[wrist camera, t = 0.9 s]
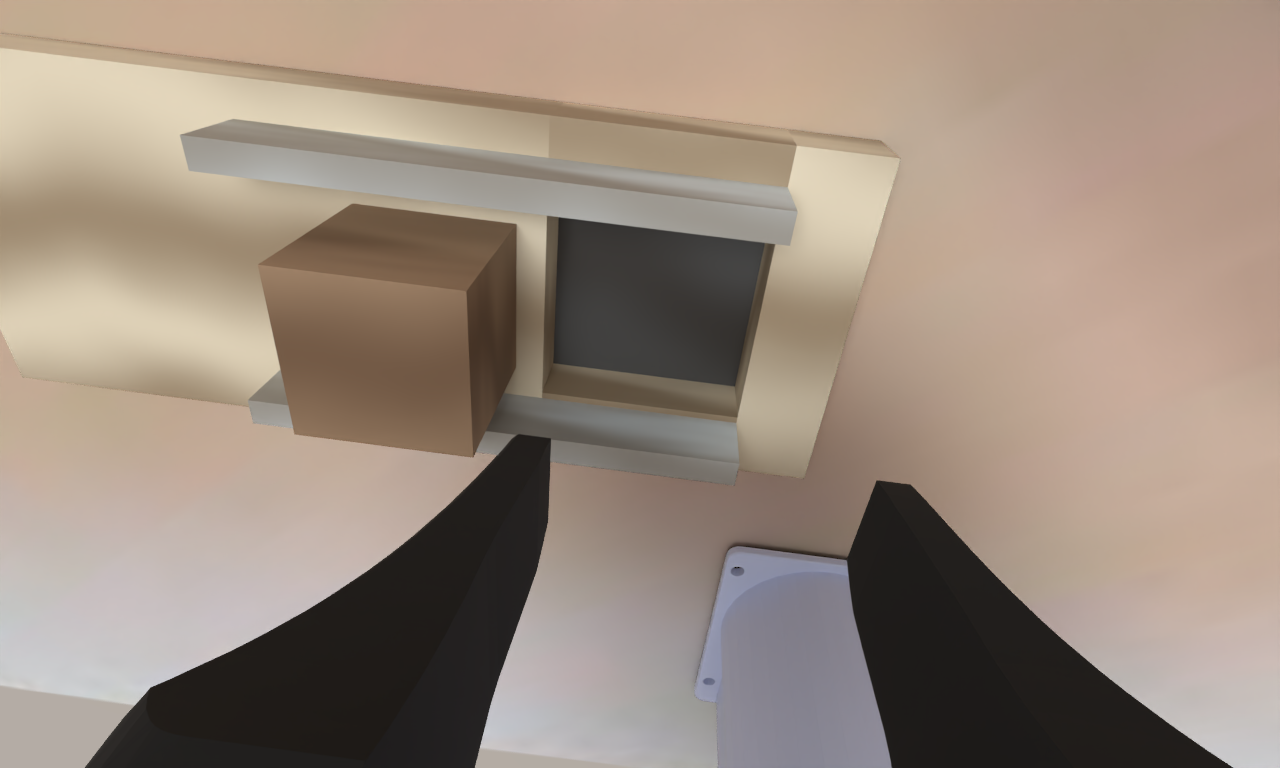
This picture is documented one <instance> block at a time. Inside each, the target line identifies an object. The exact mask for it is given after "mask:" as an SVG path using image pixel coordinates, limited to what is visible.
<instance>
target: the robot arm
mask: <svg viewBox="0 0 1280 768" xmlns="http://www.w3.org/2000/svg"><path fill="white" fill-rule="evenodd" d="M550 454H551V438H546V437H538V436H530V435H522V434H518V435H516V436H515V437H513V438H512V439H511V440H510V441H509V443H508V444H507V445H506V446H505V447H504V448H503V449H502V451H501V452H500V453H499V454H498V455H497V456H496V457H495V458H494V460H493V461H492V462H491V463H490V464H489V465H488V466H487V467H486V468H485V469H484V470H483V471H482V472H481V473H480V474H479V475H478V477H477V478H476V479H475V480H474V481H473V482H472V483H471V484H470V485H468V486H467V487H466V488H465V489H464V490H463V491H462V492H461V493H460V494H459V495H458V496H457V497H456V498H455V499H454V500H453V501H452V502H451V503H450V504H449V505H448V506H447V507H446V508H445V509H444V510H442V511H441V512H440V513H439V514H438V515H437V516H436V517H434V518H433V519H432V520H431V521H430V522H429V523H428V524H426V525H425V526H424V527H423V528H422V529H421V530H420V531H418V532H417V533H416V534H415V535H414V536H413V537H411V538H410V539H409V540H408V541H406V542H405V543H404V544H403V545H401V546H400V547H399V548H398V549H396V550H395V551H394V552H392V553H391V554H390V555H389V556H387V557H386V558H384V559H383V560H382V561H380V562H379V563H378V564H376V565H375V566H374V567H372V568H371V569H370V570H368V571H367V572H365V573H364V574H362V575H361V576H359V577H358V578H356V579H355V580H353V581H352V582H350V583H349V584H347V585H346V586H344V587H343V588H341V589H340V590H338V591H337V592H335V593H334V594H332V595H331V596H329V597H328V598H326V599H324V600H323V601H321V602H320V603H318V604H316V605H315V606H313V607H312V608H310V609H308V610H307V611H305V612H303V613H301V614H299V615H298V616H296V617H294V618H292V619H290V620H289V621H287V622H285V623H283V624H282V625H280V626H278V627H276V628H274V629H273V630H271V631H269V632H267V633H265V634H263V635H261V636H260V637H258V638H256V639H254V640H252V641H250V642H248V643H246V644H244V645H242V646H240V647H238V648H236V649H234V650H232V651H230V652H228V653H226V654H224V655H222V656H219V657H217V658H215V659H213V660H211V661H209V662H206V663H204V664H202V665H200V666H198V667H196V668H193V669H191V670H189V671H187V672H185V673H183V674H180V675H178V676H176V677H174V678H172V679H170V680H167V681H165V682H163V683H160V684H158V685H156V686H153V687H151V688H150V689H149V690H148V691H147V693H146V694H145V695H144V696H143V697H142V698H141V699H140V700H139V702H138V703H137V704H136V705H135V706H134V707H133V708H132V709H131V710H130V711H129V713H128V714H127V715H126V716H125V717H124V718H123V719H122V721H121V722H120V723H119V724H118V726H117V727H116V728H115V729H114V731H113V732H112V733H111V735H110V736H109V737H108V738H107V740H106V741H105V742H104V744H103V745H102V746H101V747H100V749H99V750H98V751H97V753H96V754H95V755H94V756H93V758H92V759H91V760H90V762H89V763H88V764H87V765H86V767H85V768H475V764H476V760H477V756H478V752H479V748H480V744H481V740H482V736H483V732H484V728H485V724H486V720H487V716H488V712H489V709H490V705H491V701H492V698H493V695H494V692H495V688H496V685H497V682H498V679H499V676H500V673H501V670H502V667H503V665H504V662H505V659H506V656H507V653H508V650H509V648H510V645H511V642H512V639H513V636H514V634H515V631H516V628H517V625H518V622H519V620H520V617H521V614H522V611H523V608H524V605H525V603H526V600H527V597H528V594H529V591H530V588H531V585H532V583H533V580H534V577H535V574H536V571H537V567H538V563H539V559H540V554H541V550H542V546H543V541H544V537H545V532H546V528H547V523H548V508H549V481H550ZM734 567H741V568H734ZM695 696H696V697H697V698H698V699H700V700H702V701H708V702H716V703H717V750H718V768H1233V767H1231V766H1230V765H1228V764H1227V763H1225V762H1224V761H1222V760H1221V759H1219V758H1218V757H1216V756H1215V755H1213V754H1212V753H1210V752H1209V751H1207V750H1206V749H1204V748H1203V747H1201V746H1200V745H1198V744H1197V743H1196V742H1194V741H1193V740H1191V739H1190V738H1188V737H1187V736H1186V735H1184V734H1183V733H1181V732H1180V731H1178V730H1177V729H1175V728H1174V727H1173V726H1171V725H1170V724H1169V723H1167V722H1166V721H1164V720H1163V719H1162V718H1160V717H1159V716H1158V715H1156V714H1155V713H1154V712H1152V711H1151V710H1150V709H1148V708H1147V707H1146V706H1144V705H1143V704H1142V703H1140V702H1139V701H1138V700H1136V699H1135V698H1134V697H1132V696H1131V695H1130V694H1128V693H1127V692H1126V691H1124V690H1123V689H1122V688H1121V687H1119V686H1118V685H1117V684H1115V683H1114V682H1113V681H1112V680H1110V679H1109V678H1108V677H1107V676H1105V675H1104V674H1103V673H1102V672H1100V671H1099V670H1098V669H1097V668H1096V667H1094V666H1093V665H1092V664H1091V663H1090V662H1088V661H1087V660H1086V659H1085V658H1084V657H1083V656H1081V655H1080V654H1079V653H1078V652H1077V651H1075V650H1074V649H1073V648H1072V647H1071V646H1069V645H1068V644H1067V643H1066V642H1065V641H1064V640H1062V639H1061V638H1060V637H1059V636H1058V635H1057V634H1056V633H1055V632H1053V631H1052V630H1051V629H1050V628H1049V627H1048V626H1047V625H1046V624H1045V623H1043V622H1042V621H1041V620H1040V619H1039V618H1038V617H1037V616H1036V615H1035V614H1034V613H1033V612H1032V611H1031V610H1030V609H1029V608H1028V607H1027V606H1026V605H1025V604H1024V603H1023V602H1021V601H1020V600H1019V599H1018V598H1017V597H1016V596H1015V595H1014V594H1013V593H1012V592H1011V591H1010V590H1009V589H1008V588H1007V587H1006V586H1005V585H1004V584H1003V583H1002V582H1001V581H1000V580H999V579H998V578H997V577H996V576H995V575H994V574H993V573H992V572H991V571H990V570H989V569H988V568H987V566H986V565H985V564H984V563H983V562H982V561H981V560H980V559H979V558H978V557H977V556H976V555H975V554H974V553H973V552H972V551H971V550H970V548H969V547H968V546H967V545H966V544H965V543H964V542H963V541H962V540H961V539H960V538H959V537H958V535H957V534H956V533H955V532H954V531H953V530H952V529H951V528H950V527H949V526H948V524H947V523H946V522H945V521H944V520H943V519H942V518H941V517H940V516H939V515H938V513H937V512H936V511H935V510H934V509H933V508H932V507H931V506H930V505H929V504H928V503H927V501H926V500H925V499H924V498H923V497H922V496H921V495H920V494H919V493H918V492H917V491H916V490H915V489H914V488H913V487H912V486H911V485H909V484H901V483H893V482H885V481H878V480H877V481H876V484H875V486H874V489H873V492H872V494H871V497H870V500H869V502H868V505H867V508H866V510H865V513H864V516H863V518H862V521H861V524H860V526H859V529H858V531H857V534H856V537H855V539H854V542H853V545H852V547H851V550H850V553H849V555H848V558H847V560H841V559H834V558H826V557H819V556H811V555H803V554H796V553H788V552H781V551H773V550H765V549H758V548H750V547H742V546H736V547H733V548H731V549H730V550H728V552H727V554H726V558H725V562H724V566H723V570H722V574H721V579H720V583H719V587H718V591H717V595H716V599H715V604H714V608H713V612H712V616H711V620H710V624H709V629H708V633H707V637H706V641H705V645H704V649H703V654H702V658H701V662H700V666H699V670H698V674H697V679H696V683H695Z"/></svg>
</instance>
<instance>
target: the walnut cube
mask: <svg viewBox="0 0 1280 768" xmlns="http://www.w3.org/2000/svg"><path fill="white" fill-rule="evenodd" d="M516 260H517V224H513V223H505V222H497V221H489V220H481V219H473V218H465V217H457V216H449V215H441V214H433V213H425V212H417V211H409V210H401V209H393V208H385V207H377V206H369V205H361V204H353V203H352V204H350V205H349V206H347V207H346V208H344V209H343V210H341V211H340V212H338V213H337V214H335V215H334V216H332V217H330V218H329V219H327V220H326V221H324V222H323V223H321V224H320V225H318V226H317V227H315V228H313V229H312V230H310V231H309V232H307V233H306V234H304V235H303V236H301V237H300V238H298V239H296V240H295V241H293V242H292V243H290V244H289V245H287V246H286V247H284V248H283V249H281V250H280V251H278V252H276V253H275V254H273V255H272V256H270V257H269V258H267V259H266V260H264V261H263V262H261V263H259V264H258V269H259V273H260V278H261V282H262V287H263V292H264V296H265V301H266V305H267V310H268V314H269V319H270V324H271V328H272V333H273V337H274V342H275V347H276V351H277V356H278V360H279V365H280V370H281V374H282V379H283V383H284V388H285V393H286V397H287V402H288V406H289V411H290V416H291V420H292V425H293V429H294V434H296V435H304V436H312V437H319V438H327V439H335V440H342V441H350V442H358V443H365V444H373V445H381V446H389V447H396V448H404V449H412V450H419V451H427V452H435V453H442V454H450V455H458V456H465V457H474V455H475V453H476V451H477V448H478V446H479V444H480V442H481V440H482V438H483V436H484V434H485V432H486V429H487V427H488V425H489V423H490V421H491V419H492V417H493V415H494V413H495V411H496V408H497V406H498V404H499V402H500V400H501V398H502V396H503V394H504V392H505V389H506V387H507V385H508V383H509V381H510V379H511V377H512V375H513V373H514V370H515V368H516Z"/></svg>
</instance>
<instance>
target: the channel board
mask: <svg viewBox="0 0 1280 768" xmlns="http://www.w3.org/2000/svg"><path fill="white" fill-rule="evenodd" d="M900 159H901V158H900V157H898V156H897V155H896V154H895V153H894V152H893V151H892V150H891V149H890V148H889V147H887V146H886V145H885V144H884V143H883V142H882V141H877V140H869V139H861V138H853V137H845V136H837V135H828V134H820V133H812V132H804V131H796V130H788V129H779V128H771V127H763V126H755V125H747V124H739V123H730V122H722V121H714V120H706V119H698V118H690V117H681V116H673V115H665V114H657V113H649V112H641V111H633V110H624V109H616V108H608V107H600V106H592V105H584V104H575V103H567V102H559V101H551V100H543V99H535V98H526V97H518V96H510V95H502V94H494V93H486V92H477V91H469V90H461V89H453V88H445V87H437V86H428V85H420V84H412V83H404V82H396V81H388V80H379V79H371V78H363V77H355V76H347V75H339V74H330V73H322V72H314V71H306V70H298V69H290V68H281V67H273V66H265V65H257V64H249V63H241V62H232V61H224V60H216V59H208V58H200V57H192V56H183V55H175V54H167V53H159V52H151V51H143V50H134V49H126V48H118V47H110V46H102V45H94V44H85V43H77V42H69V41H61V40H53V39H45V38H36V37H28V36H20V35H12V34H4V33H0V330H1V332H2V334H3V336H4V338H5V341H6V343H7V345H8V347H9V349H10V351H11V354H12V356H13V358H14V360H15V362H16V364H17V367H18V369H19V371H20V373H21V375H22V377H23V378H30V379H38V380H46V381H54V382H61V383H69V384H77V385H84V386H92V387H100V388H107V389H115V390H123V391H131V392H138V393H146V394H154V395H161V396H169V397H177V398H185V399H192V400H200V401H208V402H215V403H223V404H231V405H239V406H246V407H249V408H250V412H251V416H252V420H253V423H256V424H264V425H271V426H279V427H287V428H293V425H292V420H291V416H290V411H289V406H288V402H287V397H286V393H285V388H284V383H283V379H282V374H281V370H280V365H279V360H278V356H277V351H276V347H275V342H274V337H273V333H272V328H271V324H270V319H269V314H268V310H267V305H266V301H265V296H264V292H263V287H262V282H261V278H260V273H259V269H258V264H259V263H261V262H263V261H264V260H266V259H267V258H269V257H270V256H272V255H273V254H275V253H276V252H278V251H280V250H281V249H283V248H284V247H286V246H287V245H289V244H290V243H292V242H293V241H295V240H296V239H298V238H300V237H301V236H303V235H304V234H306V233H307V232H309V231H310V230H312V229H313V228H315V227H317V226H318V225H320V224H321V223H323V222H324V221H326V220H327V219H329V218H330V217H332V216H334V215H335V214H337V213H338V212H340V211H341V210H343V209H344V208H346V207H347V206H349V205H350V204H352V203H353V204H361V205H369V206H377V207H385V208H393V209H401V210H409V211H417V212H425V213H433V214H441V215H449V216H457V217H465V218H473V219H481V220H489V221H497V222H505V223H513V224H517V260H516V368H515V370H514V373H513V375H512V377H511V379H510V381H509V383H508V385H507V387H506V389H505V392H504V394H503V396H502V398H501V400H500V402H499V404H498V406H497V408H496V411H495V413H494V415H493V417H492V419H491V421H490V423H489V425H488V427H487V429H486V432H485V434H484V436H483V438H482V440H481V442H480V444H479V446H478V448H477V451H476V452H479V453H487V454H494V455H498V454H499V453H500V452H501V451H502V449H503V448H504V447H505V446H506V445H507V444H508V443H509V441H510V440H511V439H512V438H513V437H515V436H516V435H518V434H522V435H530V436H538V437H546V438H551V454H550V462H556V463H564V464H571V465H579V466H587V467H594V468H602V469H610V470H618V471H625V472H633V473H641V474H648V475H656V476H664V477H671V478H679V479H687V480H694V481H702V482H710V483H718V484H725V485H733V486H735V481H736V477H737V473H738V470H740V471H748V472H755V473H763V474H771V475H779V476H786V477H794V478H802V479H804V477H805V474H806V471H807V467H808V464H809V461H810V457H811V454H812V451H813V447H814V444H815V441H816V437H817V434H818V431H819V428H820V424H821V421H822V418H823V414H824V411H825V408H826V404H827V401H828V398H829V394H830V391H831V388H832V384H833V381H834V378H835V375H836V371H837V368H838V365H839V361H840V358H841V355H842V351H843V348H844V345H845V341H846V338H847V335H848V331H849V328H850V325H851V322H852V318H853V315H854V312H855V308H856V305H857V302H858V298H859V295H860V292H861V288H862V285H863V282H864V278H865V275H866V272H867V269H868V265H869V262H870V259H871V255H872V252H873V249H874V245H875V242H876V239H877V235H878V232H879V229H880V225H881V222H882V219H883V216H884V212H885V209H886V206H887V202H888V199H889V196H890V192H891V189H892V186H893V182H894V179H895V176H896V172H897V169H898V166H899V162H900Z"/></svg>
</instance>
